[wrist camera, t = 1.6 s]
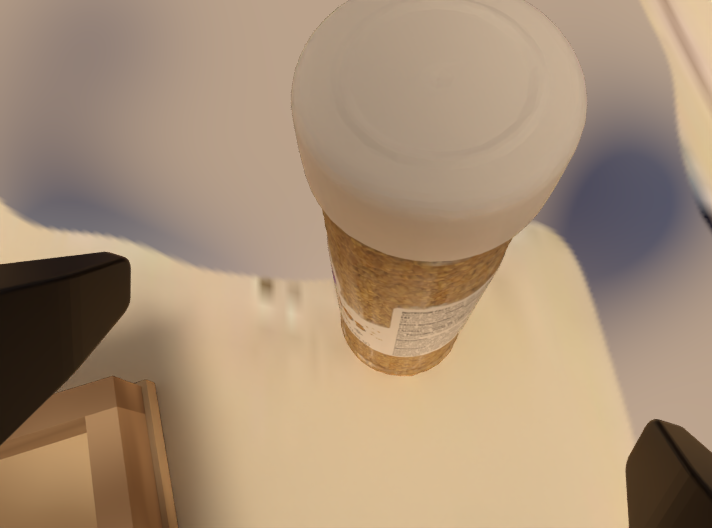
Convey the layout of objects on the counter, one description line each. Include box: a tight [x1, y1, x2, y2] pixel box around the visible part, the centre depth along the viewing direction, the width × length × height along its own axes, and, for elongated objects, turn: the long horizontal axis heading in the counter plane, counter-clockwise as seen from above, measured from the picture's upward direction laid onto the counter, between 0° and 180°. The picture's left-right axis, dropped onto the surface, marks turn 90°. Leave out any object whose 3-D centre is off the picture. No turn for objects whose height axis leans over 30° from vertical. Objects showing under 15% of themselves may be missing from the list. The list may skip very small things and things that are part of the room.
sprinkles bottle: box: [291, 0, 587, 376], centre depth 14 cm, size 5×5×13 cm
